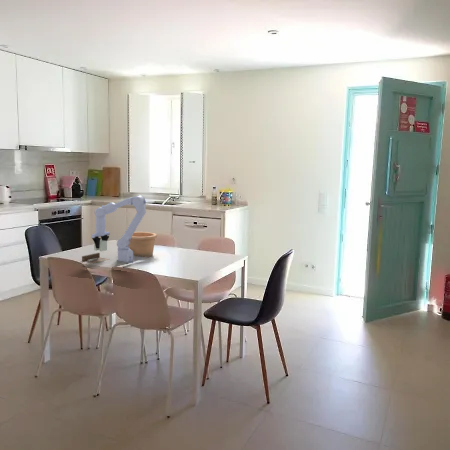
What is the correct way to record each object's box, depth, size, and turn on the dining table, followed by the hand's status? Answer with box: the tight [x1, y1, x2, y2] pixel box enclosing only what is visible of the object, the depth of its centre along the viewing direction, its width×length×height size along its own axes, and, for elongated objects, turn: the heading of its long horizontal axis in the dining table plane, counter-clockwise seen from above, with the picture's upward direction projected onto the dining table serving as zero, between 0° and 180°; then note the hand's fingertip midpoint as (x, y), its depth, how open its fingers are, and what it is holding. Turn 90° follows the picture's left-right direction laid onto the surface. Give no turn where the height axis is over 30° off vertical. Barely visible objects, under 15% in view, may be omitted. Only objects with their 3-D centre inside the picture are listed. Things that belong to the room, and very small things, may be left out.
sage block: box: [93, 240, 108, 252], centre depth 287 cm, size 6×5×6 cm
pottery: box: [128, 231, 158, 258], centre depth 309 cm, size 22×22×14 cm
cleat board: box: [81, 252, 110, 264], centre depth 284 cm, size 10×14×4 cm
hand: (100, 247), depth 287 cm, fingers closed on sage block, 5 cm apart
